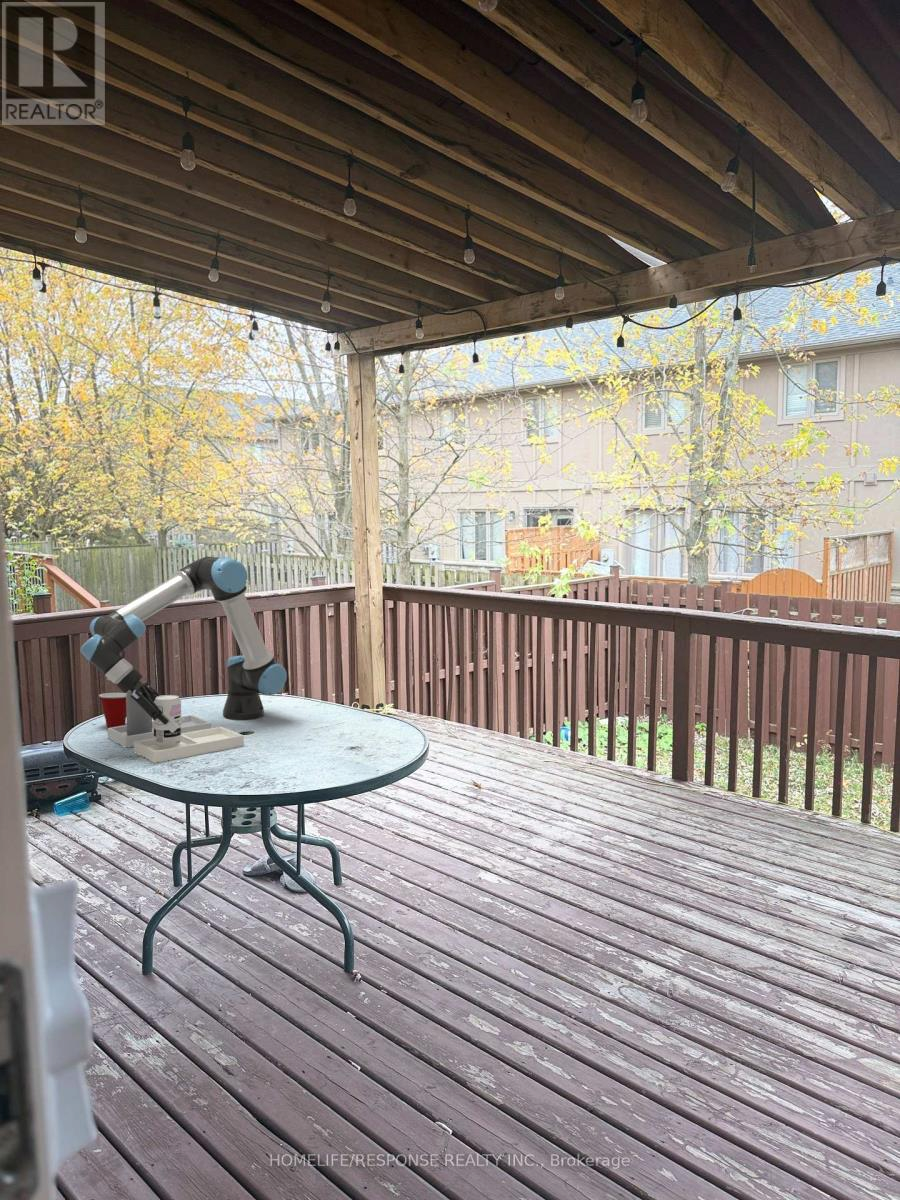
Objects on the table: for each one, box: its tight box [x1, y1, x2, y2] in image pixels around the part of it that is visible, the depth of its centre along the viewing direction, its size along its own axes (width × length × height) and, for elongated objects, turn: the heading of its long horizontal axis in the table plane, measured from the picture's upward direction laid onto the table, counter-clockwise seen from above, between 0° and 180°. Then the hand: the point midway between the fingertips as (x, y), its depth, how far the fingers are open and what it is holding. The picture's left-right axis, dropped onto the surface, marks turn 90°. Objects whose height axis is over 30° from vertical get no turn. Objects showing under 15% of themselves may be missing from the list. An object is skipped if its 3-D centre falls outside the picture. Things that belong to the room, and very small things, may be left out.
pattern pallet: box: [107, 690, 213, 748], centre depth 272 cm, size 30×15×16 cm, turn 134°
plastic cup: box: [98, 692, 127, 729], centre depth 283 cm, size 11×11×12 cm
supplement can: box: [153, 694, 182, 747], centre depth 251 cm, size 8×8×15 cm
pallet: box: [133, 726, 245, 764], centre depth 257 cm, size 30×15×4 cm, turn 134°
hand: (178, 726), depth 252 cm, fingers closed on supplement can, 8 cm apart
